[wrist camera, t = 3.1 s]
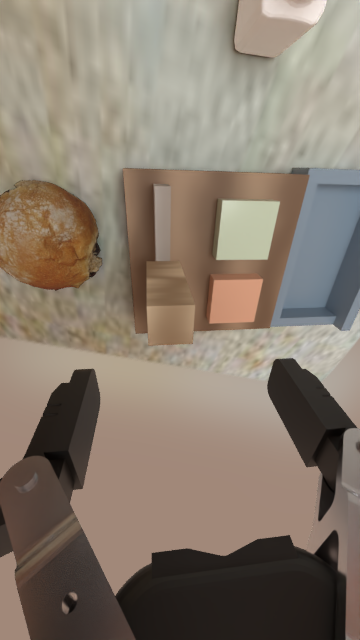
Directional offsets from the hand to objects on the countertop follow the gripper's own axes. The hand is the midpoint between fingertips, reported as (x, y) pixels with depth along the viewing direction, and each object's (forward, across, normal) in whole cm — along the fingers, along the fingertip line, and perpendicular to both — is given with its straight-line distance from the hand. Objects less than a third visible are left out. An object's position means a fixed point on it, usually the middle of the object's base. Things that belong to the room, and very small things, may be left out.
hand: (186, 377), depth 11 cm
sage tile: (+16, -7, -3) cm, 17 cm away
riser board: (+20, -4, 0) cm, 20 cm away
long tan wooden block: (+15, 0, 0) cm, 16 cm away
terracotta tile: (+16, -7, +4) cm, 17 cm away
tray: (+20, -18, 0) cm, 27 cm away
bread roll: (+20, +11, -2) cm, 23 cm away
